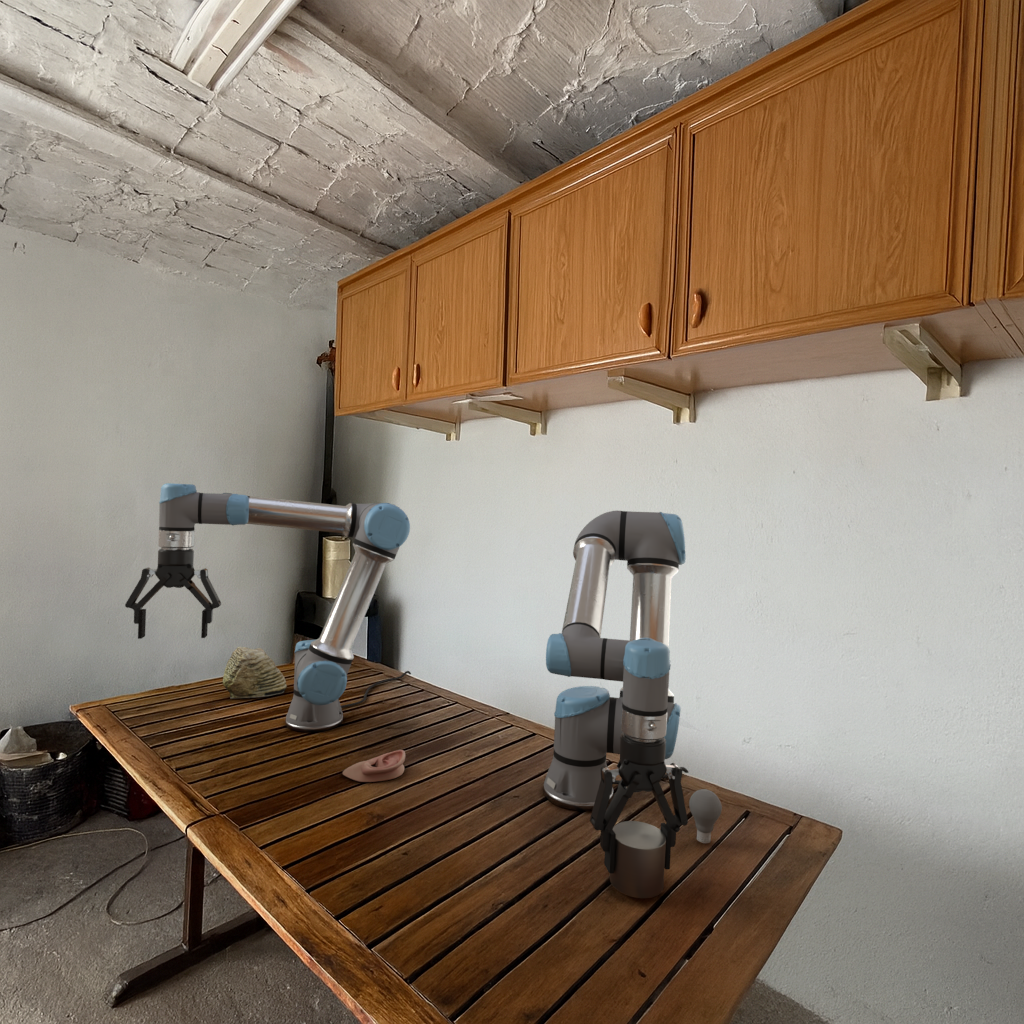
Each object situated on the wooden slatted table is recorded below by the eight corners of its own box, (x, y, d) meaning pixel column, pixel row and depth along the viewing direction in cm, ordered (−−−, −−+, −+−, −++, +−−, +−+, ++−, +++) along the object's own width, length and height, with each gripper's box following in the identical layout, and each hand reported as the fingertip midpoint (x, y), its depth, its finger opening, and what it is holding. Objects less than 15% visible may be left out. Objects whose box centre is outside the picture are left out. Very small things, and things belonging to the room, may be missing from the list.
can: (673, 883, 107) (676, 835, 107) (644, 906, 101) (647, 855, 100) (628, 860, 113) (631, 815, 113) (599, 880, 107) (601, 832, 107)
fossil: (218, 695, 195) (220, 647, 195) (278, 685, 208) (279, 640, 207) (228, 703, 189) (230, 653, 188) (289, 692, 201) (290, 645, 201)
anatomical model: (336, 761, 142) (359, 742, 153) (336, 778, 142) (358, 758, 153) (392, 768, 139) (411, 749, 151) (391, 786, 139) (410, 765, 151)
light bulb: (682, 833, 125) (685, 783, 125) (712, 833, 125) (714, 783, 125) (694, 850, 119) (696, 797, 119) (725, 850, 119) (727, 798, 119)
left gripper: (111, 548, 144) (108, 641, 144) (229, 550, 150) (226, 640, 150) (123, 545, 151) (120, 634, 152) (235, 548, 157) (232, 633, 158)
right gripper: (587, 745, 101) (581, 884, 101) (714, 741, 105) (707, 875, 105) (574, 728, 108) (568, 858, 108) (693, 725, 112) (687, 850, 113)
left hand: (173, 637), depth 151 cm, fingers open, 13 cm apart
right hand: (636, 866), depth 107 cm, fingers open, 9 cm apart
